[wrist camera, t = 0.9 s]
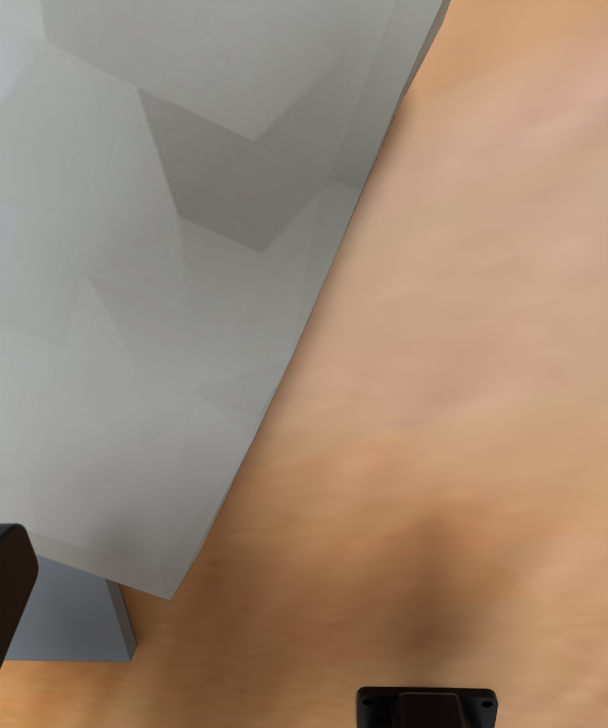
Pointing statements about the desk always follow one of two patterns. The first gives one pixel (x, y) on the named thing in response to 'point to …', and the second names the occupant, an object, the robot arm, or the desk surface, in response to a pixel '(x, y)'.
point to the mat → (73, 618)
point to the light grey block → (170, 247)
